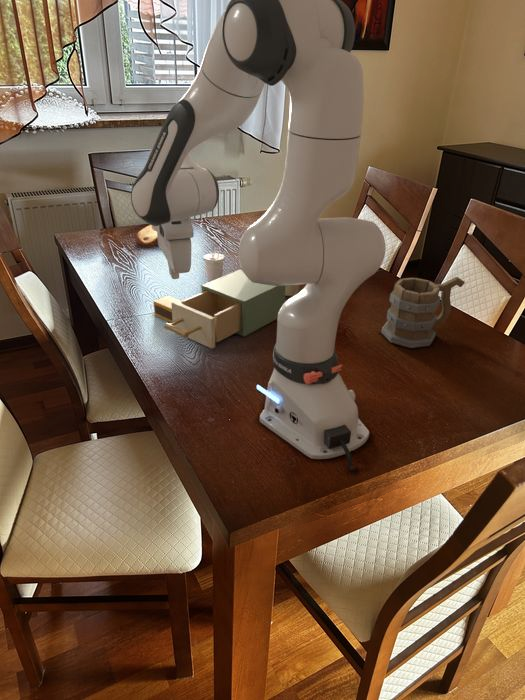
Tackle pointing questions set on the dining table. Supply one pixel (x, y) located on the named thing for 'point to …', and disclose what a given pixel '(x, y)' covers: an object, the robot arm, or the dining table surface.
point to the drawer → (206, 318)
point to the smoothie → (213, 264)
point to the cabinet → (249, 299)
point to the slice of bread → (147, 237)
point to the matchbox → (164, 307)
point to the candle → (291, 290)
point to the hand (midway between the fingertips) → (174, 276)
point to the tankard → (417, 311)
